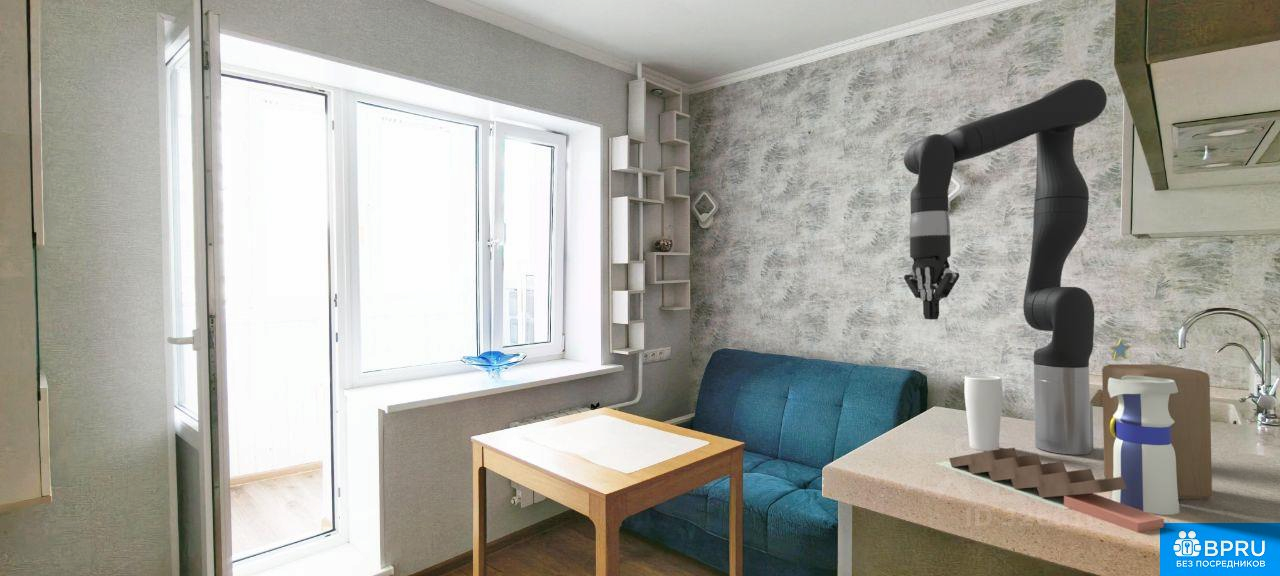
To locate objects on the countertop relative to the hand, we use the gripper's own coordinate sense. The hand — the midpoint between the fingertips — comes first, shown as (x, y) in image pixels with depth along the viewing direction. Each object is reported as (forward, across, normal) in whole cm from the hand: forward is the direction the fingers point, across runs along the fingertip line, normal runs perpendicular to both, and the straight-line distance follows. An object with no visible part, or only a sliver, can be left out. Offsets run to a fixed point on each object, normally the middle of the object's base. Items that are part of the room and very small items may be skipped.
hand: (931, 319), depth 121 cm
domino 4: (+26, -24, +4) cm, 35 cm away
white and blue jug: (+27, -36, -5) cm, 45 cm away
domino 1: (+26, -11, +4) cm, 28 cm away
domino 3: (+26, -19, +4) cm, 32 cm away
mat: (+27, -20, +4) cm, 34 cm away
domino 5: (+26, -28, +4) cm, 38 cm away
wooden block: (+27, -31, -15) cm, 44 cm away
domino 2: (+26, -15, +4) cm, 30 cm away
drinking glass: (+27, -3, -10) cm, 29 cm away
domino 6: (+26, -32, +4) cm, 41 cm away
